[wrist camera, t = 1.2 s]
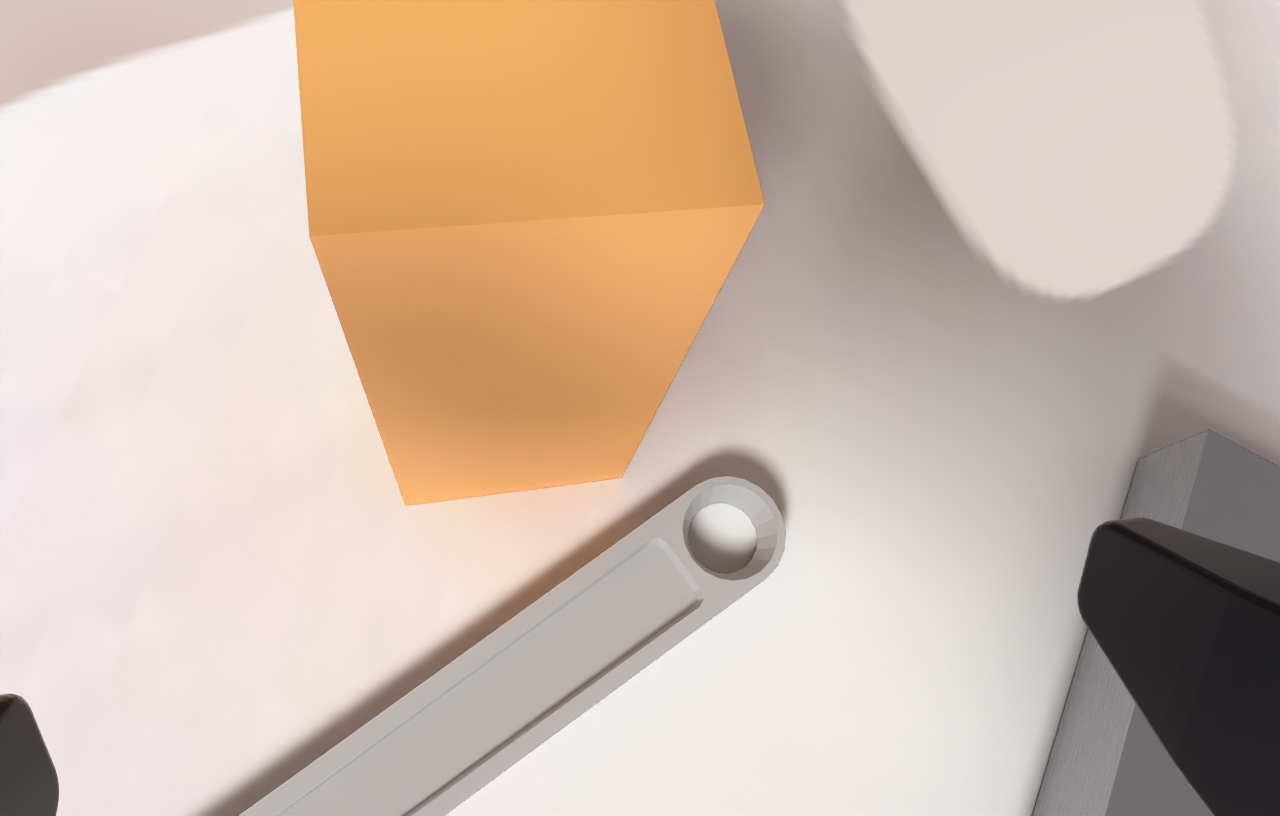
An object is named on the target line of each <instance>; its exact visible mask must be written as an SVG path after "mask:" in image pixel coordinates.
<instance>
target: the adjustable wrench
mask: <svg viewBox="0 0 1280 816" xmlns="http://www.w3.org/2000/svg"><path fill="white" fill-rule="evenodd" d="M718 503H724V504H729V505H733V506H735V507H737V508H739V509H740V510H742V511H743V512H744V513H745V514H746V515H747V516H748V517H749V518H750V520H751V521H752V523H753V525H754V527H755V530H756V535H757V547H756V551H755V553H754V556H753V558H752V560H751V561H750V562H749V563H748V564H747V565H746V566H745V567H744V568H742V569H740V570H738V571H736V572H731V573H725V574H724V573H718V572H713V571H711V570H709V569H708V568H706V567H704V566H703V565H702V564H701V563H700V562H699V561H698V560H697V559H696V558H695V557H694V555H693V553H692V551H691V549H690V545H689V540H688V533H689V526H690V524H691V522H692V520H693V517H694V516H695V515H696V514H697V513H698V512H699V511H700V510H701V509H703V508H705V507H707V506H709V505H711V504H718ZM785 537H786V531H785V527H784V522H783V518H782V514H781V513H780V511H779V509H778V507H777V506H776V504H775V502H774V500H773V499H772V498H771V497H770V496H769V495H768V494H767V493H766V492H765V491H764V490H763V489H762V488H761V487H759V486H757V485H755V484H753V483H751V482H749V481H748V480H746V479H742V478H737V477H731V476H722V477H714V478H710V479H708V480H706V481H703V482H701V483H699V484H697V485H695V486H694V487H693V488H691V489H690V490H688V491H687V492H686V493H684V494H683V495H682V496H680V497H679V498H677V499H676V500H675V501H673V502H672V503H670V504H669V505H668V506H666V507H665V508H664V509H662V510H661V511H659V512H658V513H657V514H655V515H654V516H652V517H651V518H650V519H648V520H647V521H646V522H644V523H643V524H641V525H640V526H639V527H637V528H636V529H634V530H633V531H632V532H630V533H629V534H628V535H626V536H625V537H623V538H622V539H621V540H619V541H618V542H616V543H615V544H614V545H612V546H611V547H610V548H608V549H607V550H605V551H604V552H603V553H601V554H600V555H598V556H597V557H596V558H594V559H593V560H592V561H590V562H589V563H587V564H586V565H585V566H583V567H582V568H580V569H579V570H578V571H576V572H575V573H574V574H572V575H571V576H569V577H568V578H567V579H565V580H564V581H562V582H561V583H560V584H558V585H557V586H556V587H554V588H553V589H551V590H550V591H549V592H547V593H546V594H544V595H543V596H542V597H540V598H539V599H538V600H536V601H535V602H533V603H532V604H531V605H529V606H528V607H526V608H525V609H524V610H522V611H521V612H520V613H518V614H517V615H515V616H514V617H513V618H511V619H510V620H508V621H507V622H506V623H504V624H503V625H502V626H500V627H499V628H497V629H496V630H495V631H493V632H492V633H490V634H489V635H488V636H486V637H485V638H484V639H482V640H481V641H479V642H478V643H477V644H475V645H474V646H472V647H471V648H470V649H468V650H467V651H466V652H464V653H463V654H461V655H460V656H459V657H457V658H456V659H454V660H453V661H452V662H450V663H449V664H448V665H446V666H445V667H443V668H442V669H441V670H439V671H438V672H436V673H435V674H434V675H432V676H431V677H430V678H428V679H427V680H425V681H424V682H423V683H421V684H420V685H418V686H417V687H416V688H414V689H413V690H412V691H410V692H409V693H407V694H406V695H405V696H403V697H402V698H400V699H399V700H398V701H396V702H395V703H394V704H392V705H391V706H389V707H388V708H387V709H385V710H384V711H382V712H381V713H380V714H378V715H377V716H376V717H374V718H373V719H371V720H370V721H369V722H367V723H366V724H364V725H363V726H362V727H360V728H359V729H358V730H356V731H355V732H353V733H352V734H351V735H349V736H348V737H346V738H345V739H344V740H342V741H341V742H340V743H338V744H337V745H335V746H334V747H333V748H331V749H330V750H328V751H327V752H326V753H324V754H323V755H322V756H320V757H319V758H317V759H316V760H315V761H313V762H312V763H310V764H309V765H308V766H306V767H305V768H304V769H302V770H301V771H299V772H298V773H297V774H295V775H294V776H292V777H291V778H290V779H288V780H287V781H286V782H284V783H283V784H281V785H280V786H279V787H277V788H276V789H274V790H273V791H272V792H270V793H269V794H268V795H266V796H265V797H263V798H262V799H261V800H259V801H258V802H256V803H255V804H254V805H252V806H251V807H250V808H248V809H247V810H245V811H244V812H243V813H241V814H240V815H238V816H445V815H446V814H447V813H449V812H450V811H451V810H453V809H454V808H455V807H457V806H458V805H460V804H461V803H462V802H464V801H465V800H466V799H468V798H469V797H470V796H472V795H473V794H475V793H476V792H477V791H479V790H480V789H481V788H483V787H484V786H485V785H487V784H488V783H489V782H491V781H492V780H494V779H495V778H496V777H498V776H499V775H500V774H502V773H503V772H504V771H506V770H507V769H508V768H510V767H511V766H513V765H514V764H515V763H517V762H518V761H519V760H521V759H522V758H523V757H525V756H526V755H527V754H529V753H530V752H532V751H533V750H534V749H536V748H537V747H538V746H540V745H541V744H542V743H544V742H545V741H546V740H548V739H549V738H551V737H552V736H553V735H555V734H556V733H557V732H559V731H560V730H561V729H563V728H564V727H565V726H567V725H568V724H570V723H571V722H572V721H574V720H575V719H576V718H578V717H579V716H580V715H582V714H583V713H584V712H586V711H587V710H589V709H590V708H591V707H593V706H594V705H595V704H597V703H598V702H599V701H601V700H602V699H603V698H605V697H606V696H608V695H609V694H610V693H612V692H613V691H614V690H616V689H617V688H618V687H620V686H621V685H622V684H624V683H625V682H627V681H628V680H629V679H631V678H632V677H633V676H635V675H636V674H637V673H639V672H640V671H641V670H643V669H644V668H646V667H647V666H648V665H650V664H651V663H652V662H654V661H655V660H656V659H658V658H659V657H660V656H662V655H663V654H665V653H666V652H667V651H669V650H670V649H671V648H673V647H674V646H675V645H677V644H678V643H679V642H681V641H682V640H684V639H685V638H686V637H688V636H689V635H690V634H692V633H693V632H694V631H696V630H697V629H698V628H700V627H701V626H703V625H704V624H705V623H707V622H708V621H709V620H711V619H712V618H713V617H715V616H716V615H717V614H719V613H720V612H722V611H723V610H724V609H726V608H727V607H728V606H730V605H731V604H732V603H734V602H735V601H736V600H738V599H739V598H741V597H742V596H743V595H745V594H746V593H747V592H749V591H750V590H751V589H753V588H754V587H755V586H757V585H758V584H760V583H761V582H762V581H764V580H765V579H766V578H767V577H768V576H769V575H770V574H771V573H772V572H773V571H774V569H775V568H776V567H777V566H778V564H779V562H780V559H781V557H782V555H783V552H784V549H785Z"/></svg>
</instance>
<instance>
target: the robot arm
mask: <svg viewBox="0 0 1280 816" xmlns="http://www.w3.org/2000/svg"><path fill="white" fill-rule="evenodd" d="M1077 597H1078V607H1079V611H1080V614H1081V616H1082V619H1083V621H1084V622H1085V624H1086V626H1087V627H1088V629H1089V631H1090V632H1091V634H1092V635H1093V637H1094V638H1095V640H1096V642H1097V643H1098V645H1099V646H1100V648H1101V650H1102V651H1103V653H1104V654H1105V656H1106V658H1107V659H1108V661H1109V662H1110V664H1111V665H1112V667H1113V669H1114V670H1115V672H1116V673H1117V675H1118V677H1119V678H1120V680H1121V681H1122V683H1123V684H1124V686H1125V688H1126V689H1127V691H1128V692H1129V694H1130V696H1131V697H1132V699H1133V700H1134V702H1135V704H1136V705H1137V707H1138V708H1139V710H1140V711H1141V713H1142V715H1143V716H1144V718H1145V719H1146V721H1147V723H1148V724H1149V726H1150V727H1151V729H1152V731H1153V732H1154V734H1155V735H1156V737H1157V738H1158V740H1159V741H1160V743H1161V744H1162V746H1163V747H1164V749H1165V751H1166V752H1167V754H1168V755H1169V757H1170V758H1171V760H1172V761H1173V763H1174V764H1175V765H1176V767H1177V768H1178V769H1179V771H1180V772H1181V774H1182V775H1183V776H1184V778H1185V779H1186V780H1187V782H1188V783H1189V785H1190V786H1191V787H1192V789H1193V790H1194V791H1195V792H1196V794H1197V795H1198V796H1199V798H1200V799H1201V800H1202V802H1203V803H1204V804H1205V806H1206V807H1207V808H1208V810H1209V811H1210V812H1211V813H1212V815H1213V816H1280V562H1278V561H1275V560H1272V559H1269V558H1266V557H1263V556H1260V555H1257V554H1254V553H1251V552H1248V551H1245V550H1242V549H1239V548H1236V547H1233V546H1230V545H1227V544H1224V543H1221V542H1218V541H1215V540H1212V539H1209V538H1206V537H1203V536H1200V535H1197V534H1194V533H1191V532H1188V531H1185V530H1182V529H1179V528H1176V527H1173V526H1170V525H1167V524H1164V523H1161V522H1158V521H1155V520H1152V519H1149V518H1145V517H1133V518H1127V519H1120V520H1114V521H1108V522H1105V523H1103V524H1101V525H1099V526H1098V527H1097V529H1096V530H1095V531H1094V532H1093V535H1092V537H1091V541H1090V545H1089V549H1088V553H1087V557H1086V561H1085V565H1084V569H1083V573H1082V577H1081V581H1080V585H1079V589H1078V595H1077ZM58 799H59V784H58V778H57V773H56V770H55V767H54V765H53V762H52V760H51V757H50V755H49V752H48V750H47V747H46V745H45V743H44V740H43V738H42V735H41V733H40V730H39V728H38V725H37V723H36V720H35V718H34V716H33V713H32V711H31V709H30V707H29V705H28V703H27V702H26V701H25V700H24V699H23V698H22V697H20V696H18V695H15V694H3V695H0V816H56V812H57V807H58Z"/></svg>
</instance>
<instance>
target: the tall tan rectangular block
mask: <svg viewBox="0 0 1280 816" xmlns="http://www.w3.org/2000/svg"><path fill="white" fill-rule="evenodd" d="M293 2H294V16H295V31H296V45H297V60H298V75H299V89H300V104H301V118H302V133H303V148H304V162H305V177H306V191H307V206H308V221H309V235H310V239H311V242H312V244H313V247H314V250H315V253H316V256H317V259H318V261H319V264H320V267H321V270H322V273H323V275H324V278H325V281H326V284H327V287H328V289H329V292H330V295H331V298H332V301H333V304H334V306H335V309H336V312H337V315H338V318H339V320H340V323H341V326H342V329H343V332H344V334H345V337H346V340H347V343H348V346H349V349H350V351H351V354H352V357H353V360H354V363H355V365H356V368H357V371H358V374H359V377H360V379H361V382H362V385H363V388H364V391H365V394H366V396H367V399H368V402H369V405H370V408H371V410H372V413H373V416H374V419H375V422H376V424H377V427H378V430H379V433H380V436H381V438H382V441H383V444H384V447H385V450H386V453H387V455H388V458H389V461H390V464H391V467H392V469H393V472H394V475H395V478H396V481H397V483H398V486H399V489H400V492H401V495H402V498H403V500H404V503H405V506H408V505H416V504H424V503H431V502H439V501H447V500H454V499H462V498H470V497H477V496H485V495H493V494H501V493H508V492H516V491H524V490H531V489H539V488H547V487H554V486H562V485H570V484H578V483H585V482H593V481H601V480H608V479H616V478H622V476H623V474H624V472H625V470H626V468H627V467H628V465H629V463H630V461H631V459H632V457H633V455H634V453H635V451H636V449H637V448H638V446H639V444H640V442H641V440H642V438H643V436H644V434H645V432H646V430H647V428H648V427H649V425H650V423H651V421H652V419H653V417H654V415H655V413H656V411H657V409H658V407H659V406H660V404H661V402H662V400H663V398H664V396H665V394H666V392H667V390H668V388H669V386H670V385H671V383H672V381H673V379H674V377H675V375H676V373H677V371H678V369H679V367H680V365H681V364H682V362H683V360H684V358H685V356H686V354H687V352H688V350H689V348H690V346H691V345H692V343H693V341H694V339H695V337H696V335H697V333H698V331H699V329H700V327H701V325H702V324H703V322H704V320H705V318H706V316H707V314H708V312H709V310H710V308H711V306H712V304H713V303H714V301H715V299H716V297H717V295H718V293H719V291H720V289H721V287H722V285H723V283H724V282H725V280H726V278H727V276H728V274H729V272H730V270H731V268H732V266H733V264H734V262H735V261H736V259H737V257H738V255H739V253H740V251H741V249H742V247H743V245H744V243H745V242H746V240H747V238H748V236H749V234H750V232H751V230H752V228H753V226H754V224H755V222H756V221H757V219H758V217H759V215H760V213H761V211H762V209H763V207H764V205H765V203H764V198H763V194H762V190H761V186H760V182H759V178H758V174H757V170H756V166H755V162H754V158H753V154H752V150H751V145H750V141H749V137H748V133H747V129H746V125H745V121H744V117H743V113H742V109H741V105H740V101H739V97H738V92H737V88H736V84H735V80H734V76H733V72H732V68H731V64H730V60H729V56H728V52H727V48H726V44H725V39H724V35H723V31H722V27H721V23H720V19H719V15H718V11H717V7H716V3H715V0H293Z"/></svg>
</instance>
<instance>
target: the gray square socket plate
mask: <svg viewBox="0 0 1280 816" xmlns="http://www.w3.org/2000/svg"><path fill="white" fill-rule="evenodd" d="M1133 517H1145V518H1149V519H1152V520H1155V521H1158V522H1161V523H1164V524H1167V525H1170V526H1173V527H1176V528H1179V529H1182V530H1185V531H1188V532H1191V533H1194V534H1197V535H1200V536H1203V537H1206V538H1209V539H1212V540H1215V541H1218V542H1221V543H1224V544H1227V545H1230V546H1233V547H1236V548H1239V549H1242V550H1245V551H1248V552H1251V553H1254V554H1257V555H1260V556H1263V557H1266V558H1269V559H1272V560H1275V561H1278V562H1280V467H1279V466H1277V465H1275V464H1273V463H1271V462H1269V461H1267V460H1265V459H1264V458H1262V457H1260V456H1258V455H1256V454H1254V453H1252V452H1250V451H1249V450H1247V449H1245V448H1243V447H1241V446H1239V445H1237V444H1235V443H1233V442H1232V441H1230V440H1228V439H1226V438H1224V437H1222V436H1220V435H1218V434H1216V433H1215V432H1213V431H1211V430H1209V429H1208V430H1206V431H1203V432H1201V433H1199V434H1196V435H1194V436H1192V437H1189V438H1187V439H1185V440H1182V441H1180V442H1177V443H1175V444H1173V445H1170V446H1168V447H1166V448H1163V449H1161V450H1159V451H1156V452H1154V453H1152V454H1149V455H1147V456H1144V457H1142V458H1140V459H1139V460H1138V463H1137V466H1136V470H1135V473H1134V476H1133V480H1132V483H1131V486H1130V490H1129V493H1128V497H1127V500H1126V503H1125V507H1124V510H1123V513H1122V517H1121V519H1127V518H1133ZM1033 816H1213V815H1212V813H1211V812H1210V811H1209V810H1208V808H1207V807H1206V806H1205V804H1204V803H1203V802H1202V800H1201V799H1200V798H1199V796H1198V795H1197V794H1196V792H1195V791H1194V790H1193V789H1192V787H1191V786H1190V785H1189V783H1188V782H1187V780H1186V779H1185V778H1184V776H1183V775H1182V774H1181V772H1180V771H1179V769H1178V768H1177V767H1176V765H1175V764H1174V763H1173V761H1172V760H1171V758H1170V757H1169V755H1168V754H1167V752H1166V751H1165V749H1164V747H1163V746H1162V744H1161V743H1160V741H1159V740H1158V738H1157V737H1156V735H1155V734H1154V732H1153V731H1152V729H1151V727H1150V726H1149V724H1148V723H1147V721H1146V719H1145V718H1144V716H1143V715H1142V713H1141V711H1140V710H1139V708H1138V707H1137V705H1136V704H1135V702H1134V700H1133V699H1132V697H1131V696H1130V694H1129V692H1128V691H1127V689H1126V688H1125V686H1124V684H1123V683H1122V681H1121V680H1120V678H1119V677H1118V675H1117V673H1116V672H1115V670H1114V669H1113V667H1112V665H1111V664H1110V662H1109V661H1108V659H1107V658H1106V656H1105V654H1104V653H1103V651H1102V650H1101V648H1100V646H1099V645H1098V643H1097V642H1096V640H1095V638H1094V637H1093V635H1092V634H1091V632H1090V631H1089V629H1088V631H1087V634H1086V638H1085V641H1084V644H1083V648H1082V651H1081V654H1080V658H1079V661H1078V664H1077V668H1076V671H1075V674H1074V678H1073V681H1072V685H1071V688H1070V691H1069V695H1068V698H1067V701H1066V705H1065V708H1064V711H1063V715H1062V718H1061V722H1060V725H1059V728H1058V732H1057V735H1056V738H1055V742H1054V745H1053V748H1052V752H1051V755H1050V758H1049V762H1048V765H1047V769H1046V772H1045V775H1044V779H1043V782H1042V785H1041V789H1040V792H1039V795H1038V799H1037V802H1036V805H1035V809H1034V812H1033Z"/></svg>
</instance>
